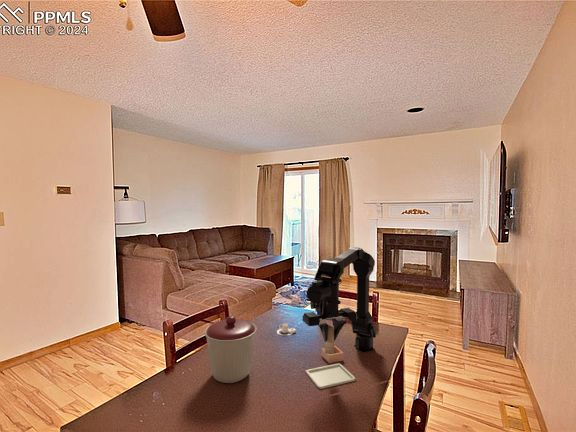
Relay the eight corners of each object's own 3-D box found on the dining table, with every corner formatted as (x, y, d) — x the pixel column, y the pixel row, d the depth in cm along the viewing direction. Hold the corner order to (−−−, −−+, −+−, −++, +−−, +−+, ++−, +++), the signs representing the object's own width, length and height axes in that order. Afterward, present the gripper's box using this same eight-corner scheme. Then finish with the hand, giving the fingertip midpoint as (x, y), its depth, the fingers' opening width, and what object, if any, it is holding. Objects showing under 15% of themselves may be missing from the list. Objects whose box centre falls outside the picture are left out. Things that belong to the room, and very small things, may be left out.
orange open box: (335, 354, 126) (335, 345, 126) (343, 361, 120) (343, 352, 120) (321, 357, 124) (321, 348, 124) (329, 364, 118) (329, 355, 118)
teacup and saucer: (298, 332, 148) (298, 323, 148) (289, 338, 142) (289, 329, 142) (282, 328, 153) (282, 320, 153) (273, 333, 146) (273, 325, 146)
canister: (264, 366, 116) (264, 311, 115) (242, 395, 99) (241, 329, 98) (222, 358, 122) (221, 305, 121) (194, 384, 105) (193, 322, 104)
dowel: (331, 349, 111) (331, 324, 111) (335, 353, 108) (335, 327, 108) (323, 350, 110) (324, 325, 110) (327, 354, 107) (328, 328, 107)
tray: (339, 366, 117) (339, 363, 117) (356, 381, 107) (356, 378, 106) (305, 373, 112) (305, 370, 112) (319, 390, 101) (319, 387, 101)
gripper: (342, 288, 119) (341, 328, 120) (296, 292, 113) (296, 335, 113) (358, 296, 109) (357, 340, 109) (309, 301, 102) (308, 348, 103)
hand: (329, 340), depth 109 cm, fingers closed on dowel, 3 cm apart
